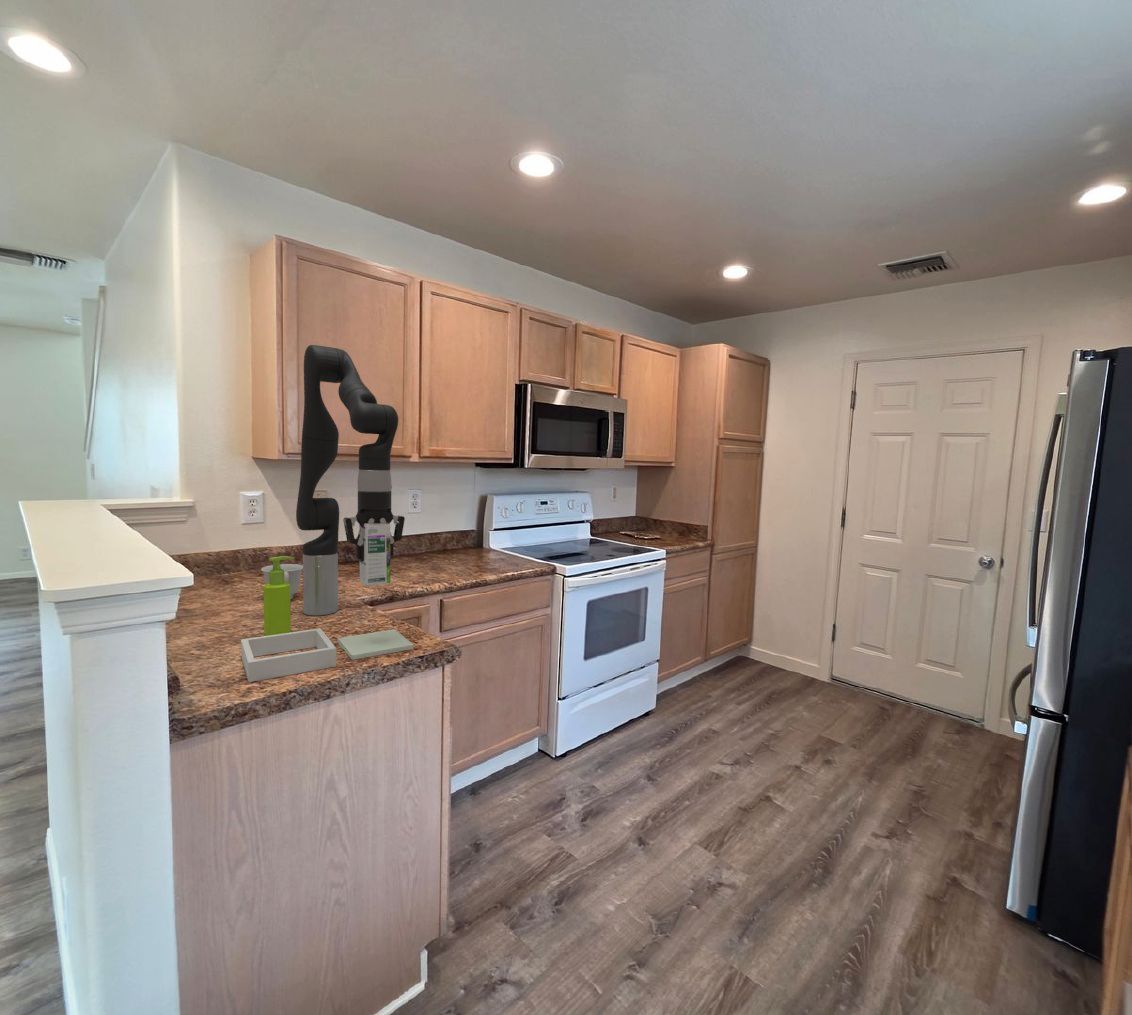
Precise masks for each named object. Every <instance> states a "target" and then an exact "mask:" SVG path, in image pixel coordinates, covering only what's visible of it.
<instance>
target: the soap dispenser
mask: <svg viewBox="0 0 1132 1015" xmlns="http://www.w3.org/2000/svg"><path fill="white" fill-rule="evenodd" d="M268 560H269V561H270V562H272V565H273V569H272V570H271V571H269V584H266V583H265V584H264V585H263V589H262V590H263V634H264V636H269V635H276V634H284V633H291V632H292V625H291V624H292V617H291V614H292V612H291V604H292V602H291V599H290V583H286V582H285V577H284V570H282V569H281V565H280V564H281V561H282V560H290V561H291V560H295V557H293V556H287V555H281V556H280V555H279V556H274V557H269V558H268Z"/></svg>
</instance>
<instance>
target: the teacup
mask: <svg viewBox="0 0 1132 1015" xmlns="http://www.w3.org/2000/svg"><path fill="white" fill-rule="evenodd" d="M280 565H281V569H282V570H284V577H285V582H286V583H290V600H292V599H294V595H295V594H296V593H297V592H298V591H299V589H300V585H301V577H302V573H303V564H296V563H282V564H281V563H280ZM272 569H273V564H271V565H266V566H263V567H262V568H261V569H260V570H261V571H262V573H263V576H264V581H265V583H264V584H265V585H266V584H269V571H271V570H272Z"/></svg>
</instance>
